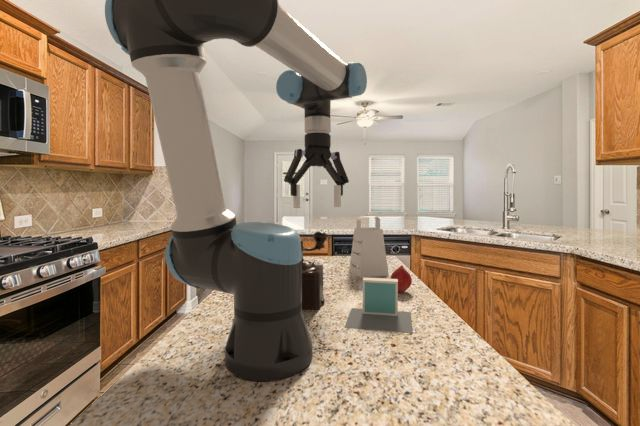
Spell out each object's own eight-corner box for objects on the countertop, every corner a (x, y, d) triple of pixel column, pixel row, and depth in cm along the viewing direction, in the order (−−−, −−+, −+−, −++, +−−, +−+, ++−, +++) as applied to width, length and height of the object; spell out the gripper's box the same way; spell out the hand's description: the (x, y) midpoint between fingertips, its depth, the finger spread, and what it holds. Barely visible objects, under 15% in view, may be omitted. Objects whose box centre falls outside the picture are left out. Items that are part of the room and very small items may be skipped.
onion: (388, 294, 95) (388, 266, 94) (393, 288, 100) (393, 262, 99) (408, 297, 92) (409, 268, 91) (413, 291, 97) (413, 264, 97)
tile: (397, 316, 77) (397, 281, 77) (362, 313, 79) (362, 280, 79) (397, 312, 80) (397, 279, 79) (363, 310, 82) (363, 277, 81)
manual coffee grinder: (322, 312, 81) (321, 238, 80) (277, 310, 83) (276, 237, 82) (328, 292, 97) (328, 230, 96) (290, 291, 98) (289, 230, 97)
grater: (348, 270, 123) (348, 216, 122) (374, 268, 126) (375, 215, 125) (360, 277, 113) (360, 218, 112) (388, 275, 116) (389, 217, 115)
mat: (412, 334, 68) (412, 332, 68) (344, 328, 71) (344, 327, 71) (410, 313, 80) (410, 312, 80) (351, 309, 83) (351, 308, 83)
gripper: (346, 139, 107) (345, 206, 108) (272, 132, 94) (272, 207, 95) (360, 135, 100) (360, 206, 101) (282, 127, 88) (283, 208, 89)
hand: (317, 207), depth 98 cm, fingers open, 13 cm apart
